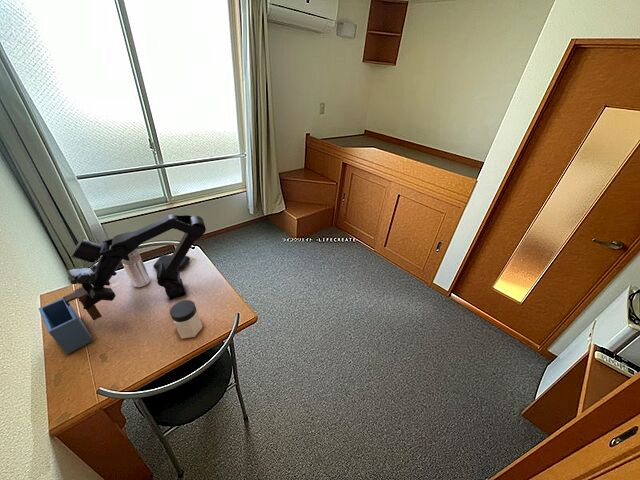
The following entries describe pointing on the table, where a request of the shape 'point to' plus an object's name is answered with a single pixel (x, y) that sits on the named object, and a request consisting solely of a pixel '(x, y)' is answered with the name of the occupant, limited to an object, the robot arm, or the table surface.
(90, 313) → the hook tag
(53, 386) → the table surface
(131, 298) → the table surface
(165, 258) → the carrying case
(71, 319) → the storage box
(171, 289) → the robot arm
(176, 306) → the jar
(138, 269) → the water bottle
